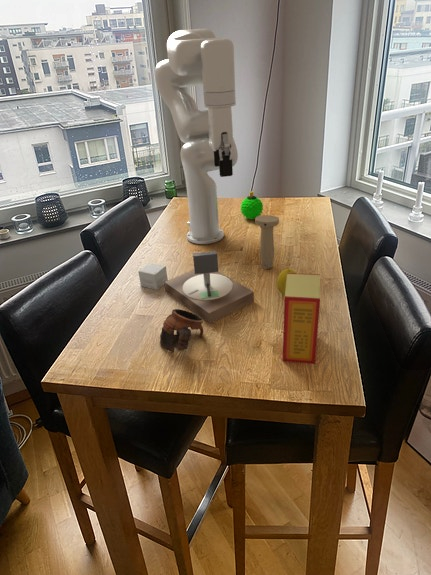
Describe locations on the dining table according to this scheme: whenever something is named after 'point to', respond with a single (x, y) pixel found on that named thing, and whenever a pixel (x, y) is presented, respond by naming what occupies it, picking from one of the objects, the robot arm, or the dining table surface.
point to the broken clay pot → (179, 329)
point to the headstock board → (210, 308)
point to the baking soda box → (301, 317)
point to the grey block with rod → (206, 266)
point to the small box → (153, 276)
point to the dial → (199, 290)
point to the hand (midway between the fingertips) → (223, 170)
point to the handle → (267, 239)
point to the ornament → (251, 206)
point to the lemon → (283, 280)
